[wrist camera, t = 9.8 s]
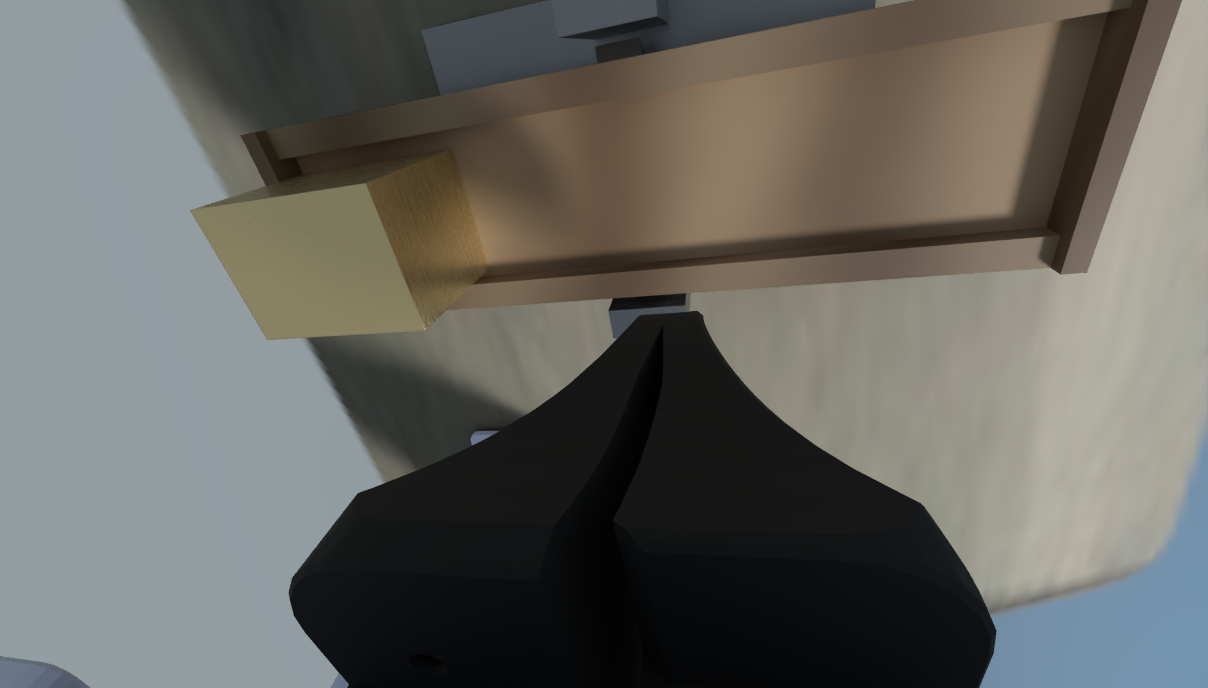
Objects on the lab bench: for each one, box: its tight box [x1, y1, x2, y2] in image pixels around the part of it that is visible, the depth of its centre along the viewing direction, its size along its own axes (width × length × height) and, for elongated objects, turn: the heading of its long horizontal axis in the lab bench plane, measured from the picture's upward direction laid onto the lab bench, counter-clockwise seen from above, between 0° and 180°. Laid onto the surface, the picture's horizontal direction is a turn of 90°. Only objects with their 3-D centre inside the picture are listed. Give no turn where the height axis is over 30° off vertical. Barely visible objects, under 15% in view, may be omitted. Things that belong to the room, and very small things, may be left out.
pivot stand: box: [421, 0, 876, 338], centre depth 15 cm, size 10×14×5 cm
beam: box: [241, 0, 1182, 310], centre depth 14 cm, size 21×7×3 cm, turn 100°
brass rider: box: [190, 149, 489, 340], centre depth 13 cm, size 4×5×4 cm
